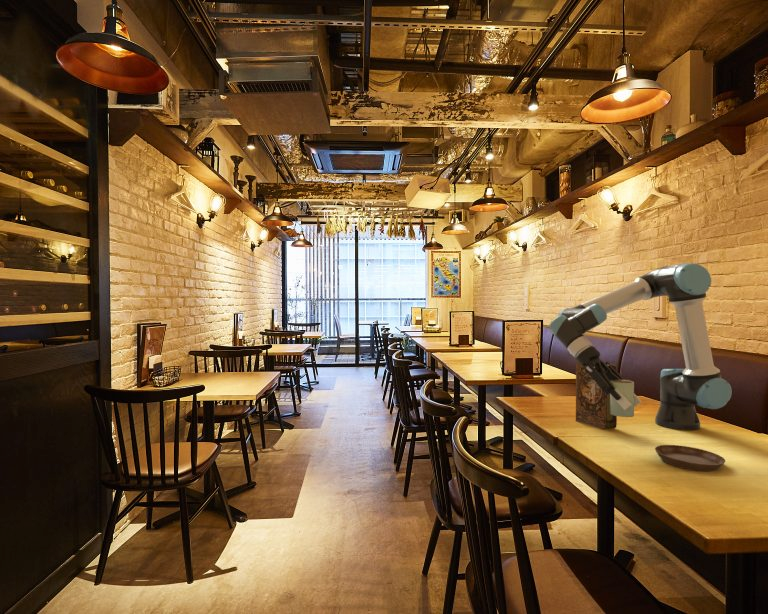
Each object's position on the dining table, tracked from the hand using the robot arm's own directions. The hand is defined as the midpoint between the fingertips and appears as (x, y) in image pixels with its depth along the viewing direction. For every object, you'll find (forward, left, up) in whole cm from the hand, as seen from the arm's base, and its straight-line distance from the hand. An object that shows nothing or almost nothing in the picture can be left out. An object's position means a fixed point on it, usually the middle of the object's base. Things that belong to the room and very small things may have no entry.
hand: (633, 405), depth 143 cm
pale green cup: (+3, -2, -4) cm, 5 cm away
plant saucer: (-13, +7, -16) cm, 22 cm away
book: (+2, -35, -16) cm, 39 cm away
